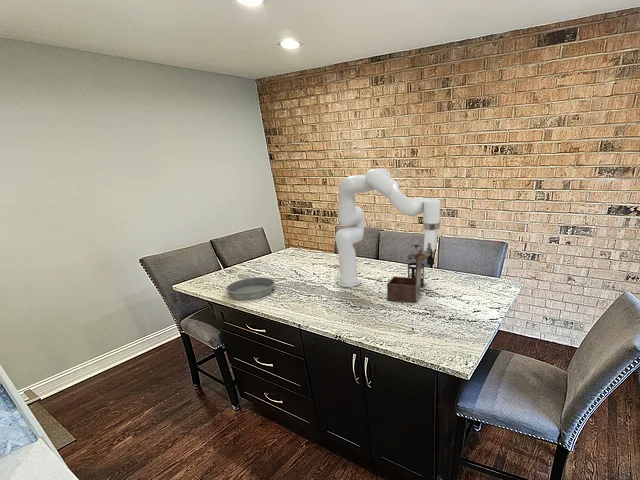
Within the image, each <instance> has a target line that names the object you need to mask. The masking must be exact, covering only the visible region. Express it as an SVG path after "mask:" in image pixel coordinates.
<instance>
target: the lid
mask: <svg viewBox="0 0 640 480" xmlns="http://www.w3.org/2000/svg"><path fill="white" fill-rule="evenodd" d="M415 254H416V259H415V262H416V265H415V267H416V269H415V285H417V284H418V282H419V281H420V279H421V278H422V277H423V276H422V273H423V269H422V263H423V261H422V258H423V260H427V257H428V256H427V253H425V254H424V253H423V248H422V247H421V248H420V249H419V250H418V251H417V252H416V253H415ZM423 256H424V257H423ZM421 276H422V277H421Z"/></svg>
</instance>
